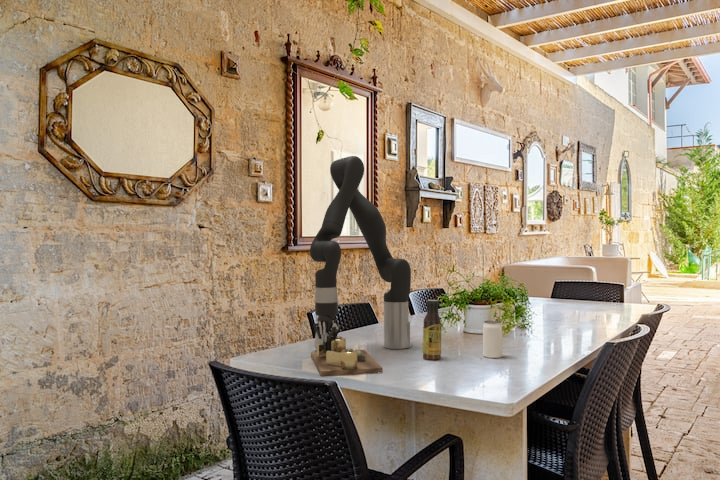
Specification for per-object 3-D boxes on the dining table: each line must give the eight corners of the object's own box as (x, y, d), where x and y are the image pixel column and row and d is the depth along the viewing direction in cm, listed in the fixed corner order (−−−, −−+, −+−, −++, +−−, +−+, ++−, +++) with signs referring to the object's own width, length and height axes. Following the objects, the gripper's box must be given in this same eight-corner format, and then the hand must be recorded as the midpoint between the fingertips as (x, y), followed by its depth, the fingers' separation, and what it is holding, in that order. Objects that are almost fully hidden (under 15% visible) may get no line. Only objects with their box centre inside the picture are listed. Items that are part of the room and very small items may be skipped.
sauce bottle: (429, 361, 196) (428, 301, 196) (419, 357, 202) (418, 299, 201) (445, 359, 199) (445, 300, 199) (435, 355, 205) (434, 298, 204)
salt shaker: (327, 352, 212) (327, 316, 212) (312, 352, 213) (311, 316, 213) (331, 349, 218) (331, 314, 218) (316, 349, 219) (316, 314, 219)
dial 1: (339, 351, 206) (339, 335, 206) (348, 353, 202) (348, 337, 202) (313, 356, 198) (313, 339, 198) (322, 358, 195) (322, 341, 195)
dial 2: (360, 367, 181) (360, 349, 181) (350, 370, 177) (350, 351, 177) (332, 362, 189) (332, 344, 188) (322, 365, 185) (322, 347, 185)
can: (503, 355, 204) (503, 320, 204) (501, 359, 198) (501, 323, 198) (484, 354, 206) (484, 320, 206) (482, 358, 200) (481, 322, 200)
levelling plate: (364, 353, 209) (364, 340, 209) (382, 372, 181) (382, 357, 181) (311, 356, 206) (310, 343, 206) (320, 376, 177) (320, 360, 177)
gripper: (347, 301, 193) (348, 354, 193) (324, 298, 203) (325, 348, 203) (328, 303, 188) (329, 357, 188) (306, 300, 199) (307, 351, 199)
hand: (327, 352), depth 196 cm, fingers closed
